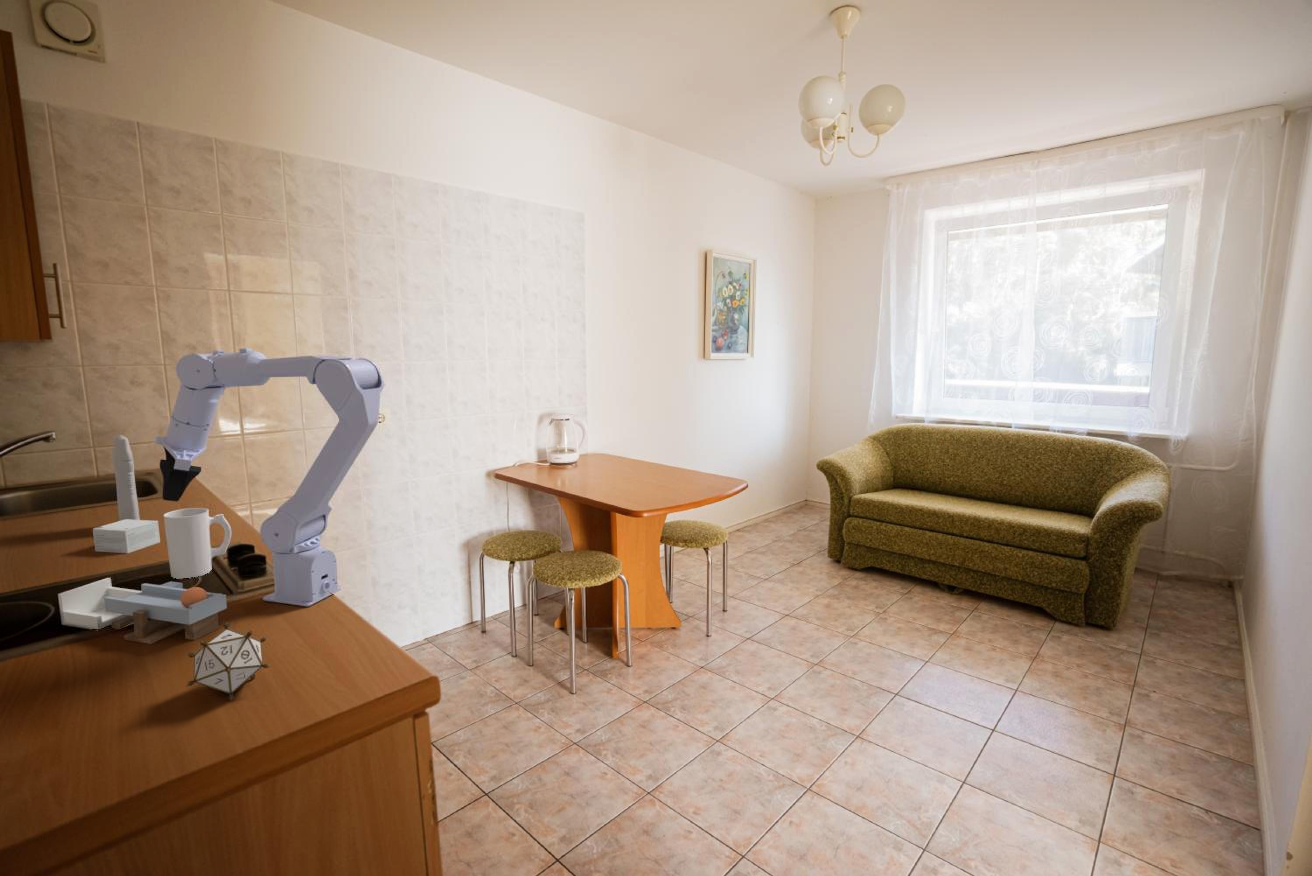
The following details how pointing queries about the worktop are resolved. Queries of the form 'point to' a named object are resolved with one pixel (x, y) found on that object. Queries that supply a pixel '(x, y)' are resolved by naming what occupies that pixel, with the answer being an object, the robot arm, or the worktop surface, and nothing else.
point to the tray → (91, 605)
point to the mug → (192, 541)
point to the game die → (227, 661)
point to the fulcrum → (163, 627)
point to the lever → (166, 604)
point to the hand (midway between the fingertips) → (171, 490)
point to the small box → (126, 536)
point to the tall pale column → (125, 479)
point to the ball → (193, 596)
